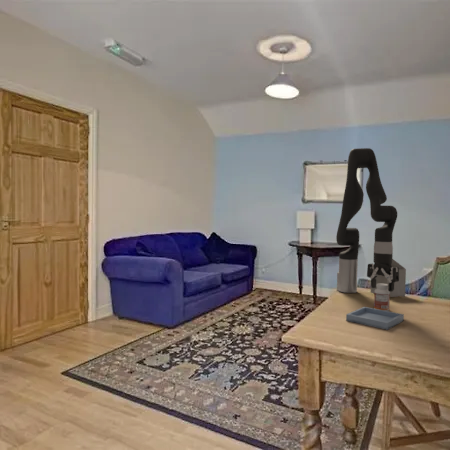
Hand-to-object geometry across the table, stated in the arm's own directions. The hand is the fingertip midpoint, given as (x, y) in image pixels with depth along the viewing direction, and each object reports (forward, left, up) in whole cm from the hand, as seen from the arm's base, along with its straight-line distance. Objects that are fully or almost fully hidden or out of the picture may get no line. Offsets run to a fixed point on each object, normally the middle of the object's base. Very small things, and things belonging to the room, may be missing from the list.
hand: (382, 289), depth 167 cm
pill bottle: (0, 0, -9) cm, 9 cm away
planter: (-16, +25, -9) cm, 31 cm away
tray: (+9, -16, -9) cm, 20 cm away
